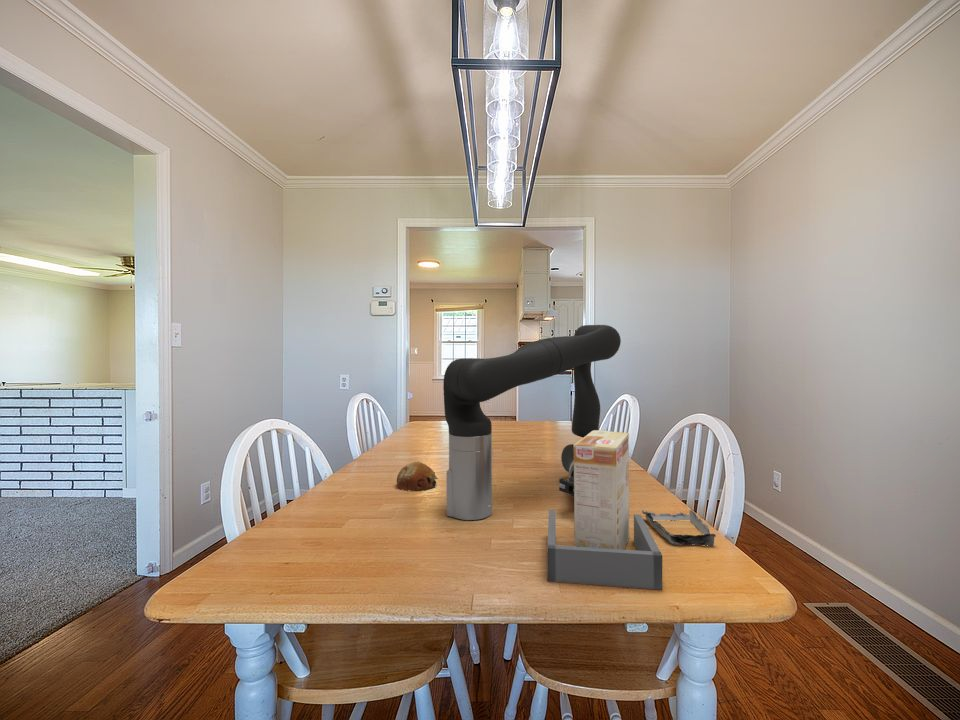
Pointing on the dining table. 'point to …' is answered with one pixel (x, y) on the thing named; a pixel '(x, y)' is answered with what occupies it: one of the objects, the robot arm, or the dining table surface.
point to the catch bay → (606, 561)
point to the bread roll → (416, 477)
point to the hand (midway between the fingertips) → (592, 498)
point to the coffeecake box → (601, 490)
